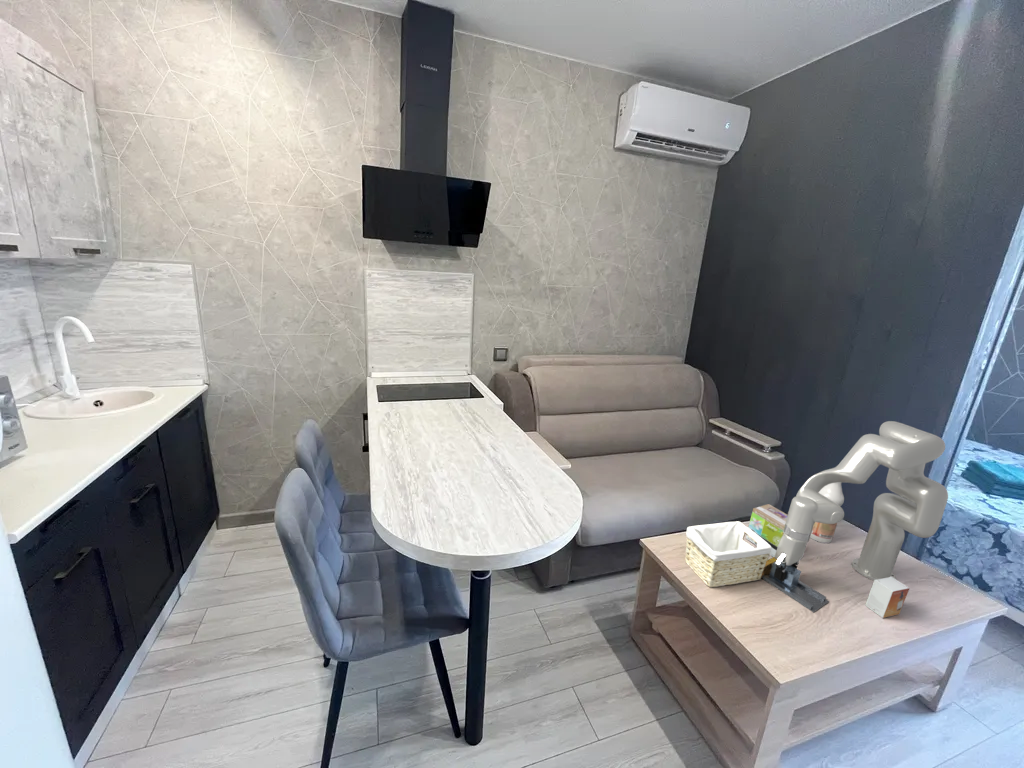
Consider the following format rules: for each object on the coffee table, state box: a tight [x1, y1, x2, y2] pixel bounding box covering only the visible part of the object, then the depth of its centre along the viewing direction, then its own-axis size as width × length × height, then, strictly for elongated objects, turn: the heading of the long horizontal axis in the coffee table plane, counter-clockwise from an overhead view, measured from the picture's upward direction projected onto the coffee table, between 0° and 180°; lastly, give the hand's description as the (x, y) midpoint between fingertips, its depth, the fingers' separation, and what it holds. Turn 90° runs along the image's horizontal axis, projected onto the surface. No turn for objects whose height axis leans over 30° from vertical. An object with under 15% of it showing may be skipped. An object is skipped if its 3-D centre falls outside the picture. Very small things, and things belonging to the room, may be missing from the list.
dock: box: [760, 556, 830, 613], centre depth 145 cm, size 10×18×5 cm, turn 30°
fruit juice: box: [810, 482, 845, 544], centre depth 173 cm, size 9×9×28 cm
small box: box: [865, 577, 910, 619], centre depth 137 cm, size 8×6×10 cm
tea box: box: [745, 503, 788, 558], centre depth 165 cm, size 15×10×15 cm, turn 25°
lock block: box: [769, 560, 802, 590], centre depth 148 cm, size 5×7×6 cm
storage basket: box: [684, 520, 771, 588], centre depth 150 cm, size 24×16×15 cm
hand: (784, 575), depth 148 cm, fingers open, 6 cm apart
